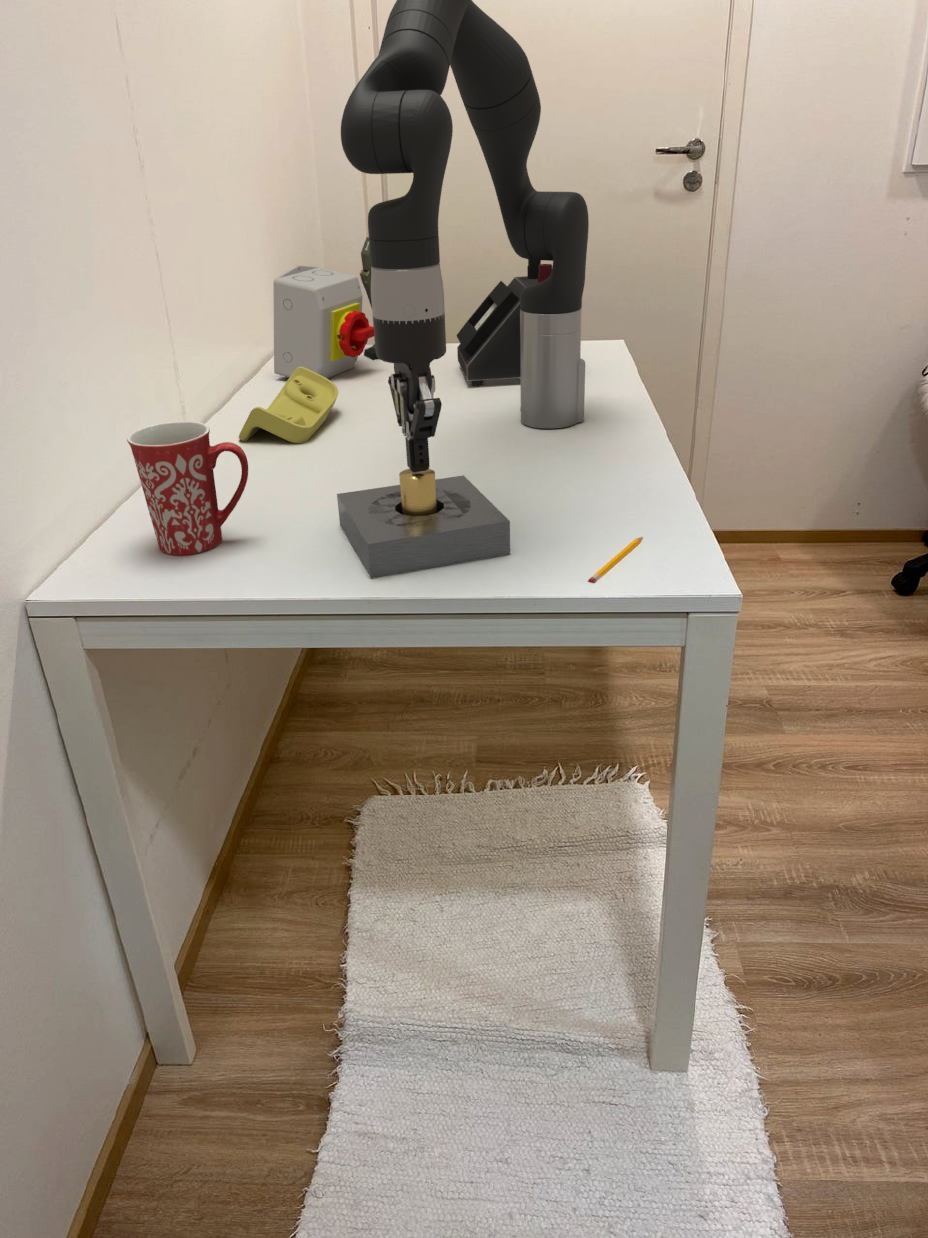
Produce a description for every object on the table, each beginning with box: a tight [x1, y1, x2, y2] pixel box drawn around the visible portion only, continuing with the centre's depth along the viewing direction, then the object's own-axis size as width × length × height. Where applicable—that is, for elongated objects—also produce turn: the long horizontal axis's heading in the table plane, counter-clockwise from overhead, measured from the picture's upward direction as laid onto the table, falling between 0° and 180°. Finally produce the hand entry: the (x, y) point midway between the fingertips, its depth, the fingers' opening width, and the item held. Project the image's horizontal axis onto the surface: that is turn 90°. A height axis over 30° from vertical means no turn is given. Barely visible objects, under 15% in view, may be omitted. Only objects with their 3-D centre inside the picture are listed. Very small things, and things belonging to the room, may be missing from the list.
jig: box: [336, 475, 511, 579], centre depth 108 cm, size 16×16×4 cm
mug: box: [126, 420, 249, 556], centre depth 107 cm, size 13×9×14 cm
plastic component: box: [238, 367, 340, 444], centre depth 151 cm, size 20×7×10 cm
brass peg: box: [399, 468, 437, 516], centre depth 107 cm, size 4×4×8 cm
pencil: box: [587, 536, 644, 584], centre depth 103 cm, size 1×13×1 cm, turn 147°
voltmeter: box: [456, 259, 553, 387], centre depth 171 cm, size 16×16×20 cm
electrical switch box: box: [273, 264, 374, 380], centre depth 176 cm, size 15×15×20 cm
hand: (418, 469), depth 106 cm, fingers closed
